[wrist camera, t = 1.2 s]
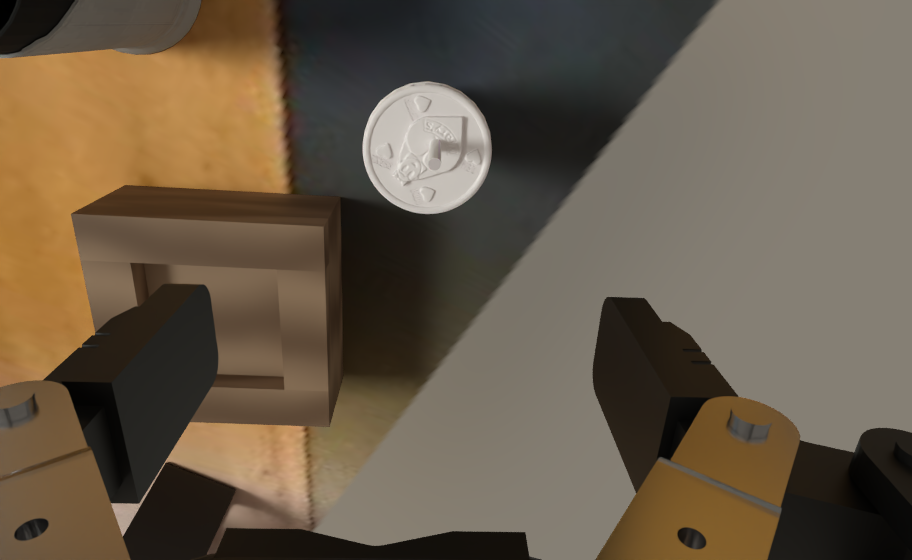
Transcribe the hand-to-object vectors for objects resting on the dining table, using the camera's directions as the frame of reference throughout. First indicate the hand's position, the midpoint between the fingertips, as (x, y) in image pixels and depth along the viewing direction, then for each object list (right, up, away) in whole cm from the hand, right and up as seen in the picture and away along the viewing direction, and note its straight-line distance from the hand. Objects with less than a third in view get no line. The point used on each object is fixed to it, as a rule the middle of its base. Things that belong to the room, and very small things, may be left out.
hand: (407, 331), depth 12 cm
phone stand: (-22, -18, +38) cm, 48 cm away
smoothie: (-1, +11, +26) cm, 28 cm away
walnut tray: (-14, +1, +30) cm, 33 cm away
